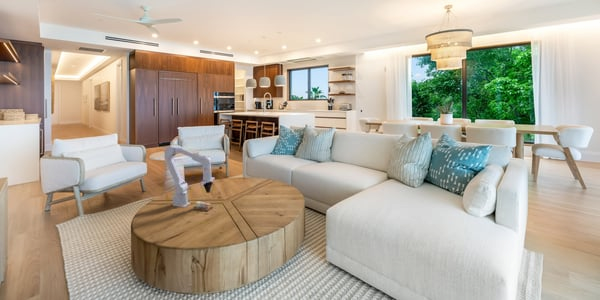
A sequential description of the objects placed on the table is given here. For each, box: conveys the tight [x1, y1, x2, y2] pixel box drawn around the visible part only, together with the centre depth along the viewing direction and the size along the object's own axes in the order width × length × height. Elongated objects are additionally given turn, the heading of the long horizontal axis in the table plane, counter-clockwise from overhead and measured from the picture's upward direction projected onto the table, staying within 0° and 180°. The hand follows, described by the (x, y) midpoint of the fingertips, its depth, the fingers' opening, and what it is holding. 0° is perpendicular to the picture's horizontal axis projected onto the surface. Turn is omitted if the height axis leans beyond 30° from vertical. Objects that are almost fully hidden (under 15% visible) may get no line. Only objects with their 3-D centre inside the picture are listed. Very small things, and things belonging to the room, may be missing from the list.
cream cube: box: [195, 200, 203, 207], centre depth 208 cm, size 3×3×3 cm
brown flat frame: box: [193, 205, 214, 212], centre depth 207 cm, size 12×7×1 cm, turn 72°
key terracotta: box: [205, 202, 212, 209], centre depth 206 cm, size 3×3×3 cm
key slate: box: [200, 201, 207, 208], centre depth 207 cm, size 3×3×3 cm
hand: (207, 192), depth 211 cm, fingers closed
